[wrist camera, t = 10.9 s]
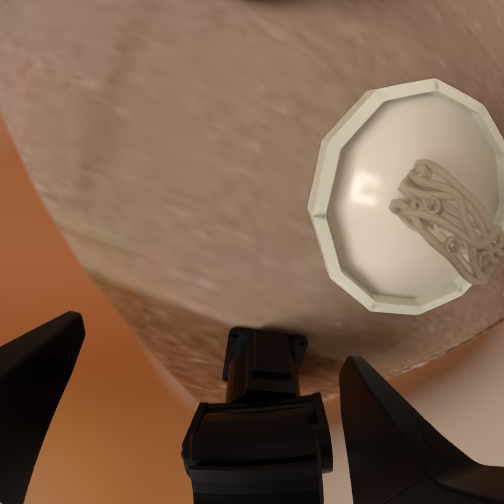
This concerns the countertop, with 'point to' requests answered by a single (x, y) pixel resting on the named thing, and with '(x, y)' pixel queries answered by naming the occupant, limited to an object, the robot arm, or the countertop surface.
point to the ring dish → (385, 189)
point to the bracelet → (464, 242)
